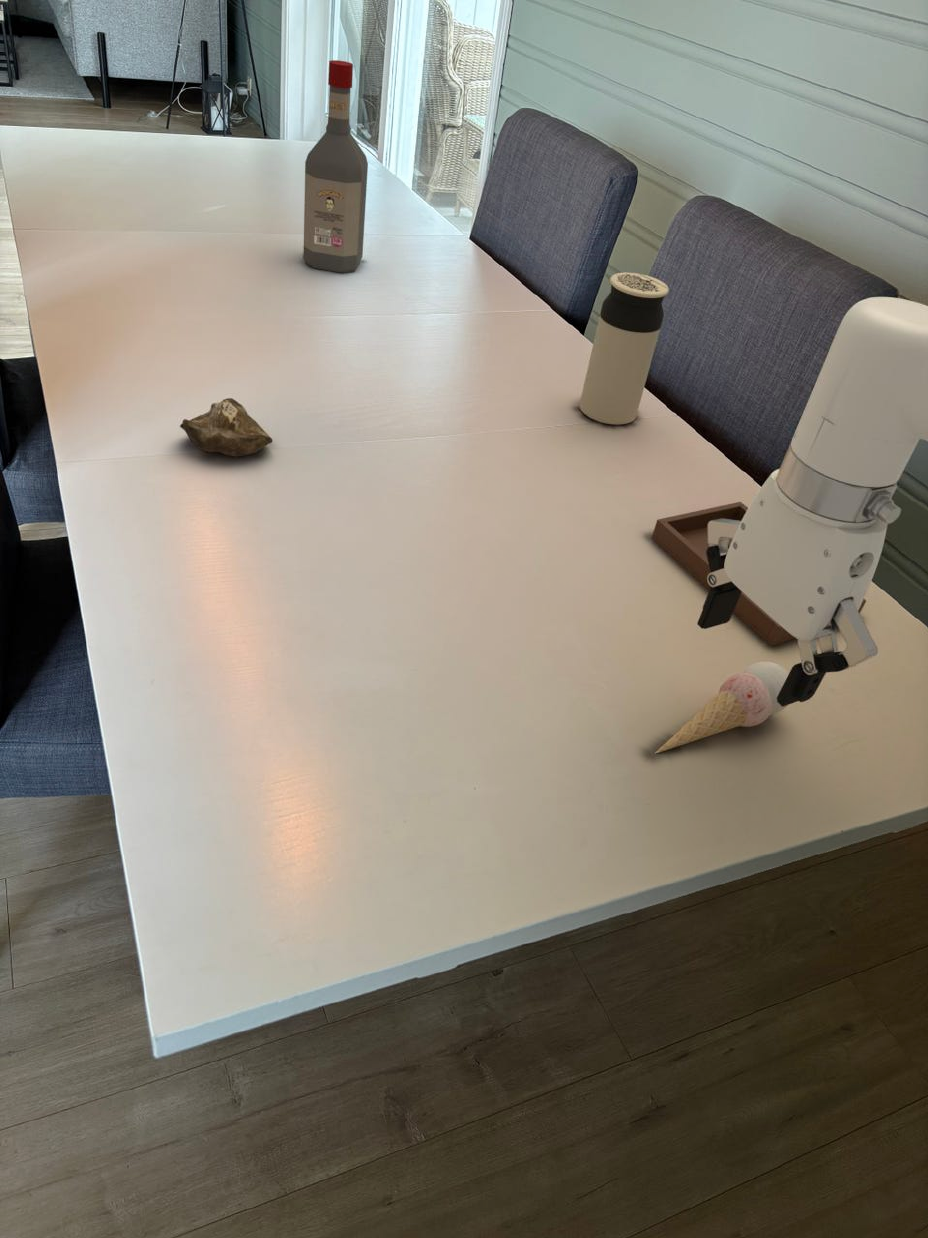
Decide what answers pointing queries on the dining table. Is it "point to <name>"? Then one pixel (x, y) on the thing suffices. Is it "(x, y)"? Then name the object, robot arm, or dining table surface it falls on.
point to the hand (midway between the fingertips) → (750, 660)
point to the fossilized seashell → (226, 430)
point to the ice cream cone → (736, 704)
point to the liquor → (335, 185)
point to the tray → (689, 547)
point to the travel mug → (623, 348)
